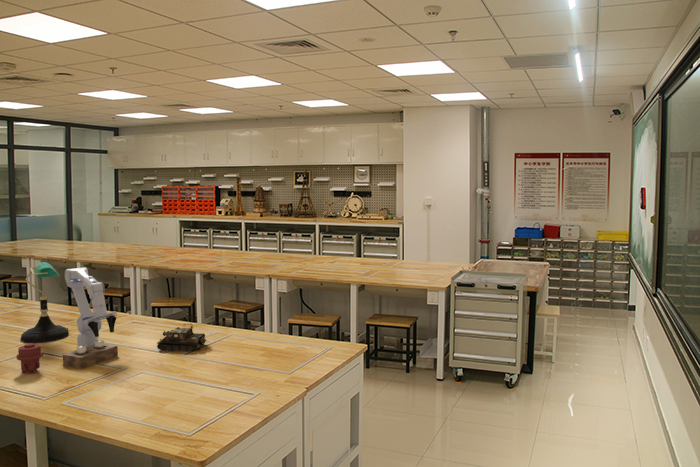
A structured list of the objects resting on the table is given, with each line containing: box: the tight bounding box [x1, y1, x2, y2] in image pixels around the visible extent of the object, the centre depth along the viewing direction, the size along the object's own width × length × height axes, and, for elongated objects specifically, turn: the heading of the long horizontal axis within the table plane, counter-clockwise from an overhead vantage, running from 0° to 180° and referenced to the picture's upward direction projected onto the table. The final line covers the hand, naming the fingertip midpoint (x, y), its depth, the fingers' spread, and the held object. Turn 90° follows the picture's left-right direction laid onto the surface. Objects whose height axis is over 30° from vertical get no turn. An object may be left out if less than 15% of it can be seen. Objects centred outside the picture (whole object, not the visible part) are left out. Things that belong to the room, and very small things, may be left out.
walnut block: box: [62, 343, 119, 370], centre depth 245 cm, size 12×20×5 cm, turn 156°
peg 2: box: [95, 339, 105, 349], centre depth 249 cm, size 4×4×5 cm
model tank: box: [156, 323, 207, 353], centre depth 265 cm, size 13×22×15 cm, turn 87°
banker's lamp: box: [20, 262, 70, 344], centre depth 283 cm, size 26×23×40 cm
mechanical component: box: [15, 343, 44, 375], centre depth 229 cm, size 12×10×10 cm
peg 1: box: [75, 345, 86, 355], centre depth 240 cm, size 4×4×5 cm
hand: (104, 334), depth 249 cm, fingers open, 7 cm apart
